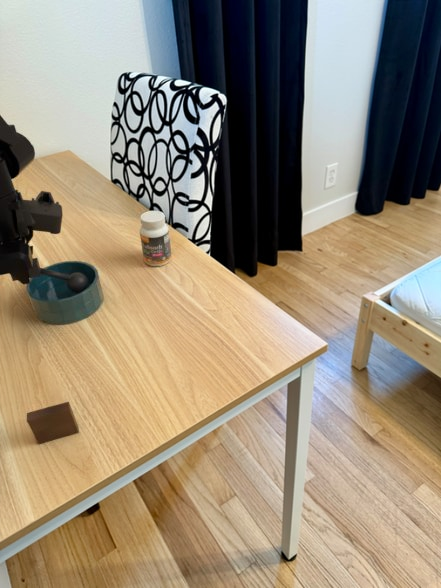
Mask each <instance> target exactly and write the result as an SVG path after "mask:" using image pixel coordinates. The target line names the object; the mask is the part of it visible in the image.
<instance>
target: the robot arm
mask: <svg viewBox="0 0 441 588" xmlns="http://www.w3.org/2000/svg"><path fill="white" fill-rule="evenodd" d="M35 152H36V151H35V147H34V144H32V142H31V141H30V140H29V138H28V137H26V136H25V135H24V134H22V133H20V132H18V131H17V128H16V126H15V124H8V123H7V122H6V120H5V119H4V118H3V116H2V115H1V114H0V276H4V275H10V274H11V275H12V276H13V277H14V278H16V279H17V281H18V282H19V283H20V284H22V285H27V284H29V283H30V280H29V279H30V278H29V272H28V270H29V269H30V268H32V266H33V255H34V245H30V244H29V243H30V242H31V240H32V239H33V237H34V231H35V232H44V233H50V234H52V235H59V234H60V233H61V230H62V222H63V206H62V205H61V204H60V202H59V201H55V199H54V197H53V195H52V192H51V191H45V190H41V191H40V192H39V193H38V195H37V196H36V197H31V199H24V198H23V196H22V193H21V192H20V191H19V190H18V189H15V186H14V182H13V180H14V179H16V178H17V177H18V176H19V175H20V174H21V173H23V172H24V171H25V169H27V168H28V167H29V166H30V165H31V164H32V163H33V162H34V160H35V158H36V153H35ZM11 275H10V276H11Z"/></svg>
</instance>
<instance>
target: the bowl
mask: <svg viewBox="0 0 441 588" xmlns="http://www.w3.org/2000/svg"><path fill="white" fill-rule="evenodd" d="M42 268H43V269H47V270H51V271H55V272H59V273H63V274H67V275H71V274H73V273H77V272H78V273H82V274H84V275H85V276H86V277H87V280H88V286H87V288H86V289H85V290H84V291H83V292H80V293H74V292H72V291H70V290H69V288H68V287H67V280H63V279H59V278H55V277H51V276H47V275H43V274H41V276H39V277H34V278H29V280H30V283H29V284H26V289H25V292H26V293H27V296H28V299H29V302H30V304H31V307H32V310H33V312H34V313H35V315H36V317H37V318H38V319H39V320H40V321H42V322H44V323H47V324H49V325H69V324H73V323H77V322H80V321H82V320H85V319H87V318H89V317H91V316H92V315H94V314H95V313H96V312H97V311H98V310H99V309H100V308H101V306H102V305H103V302H104V290H103V287H102V283H101V279H100V274H99V271H98V269H97V268H96V267H95V266H94V265H93V264H92V263H89V262H86V261H82V260H81V261H80V260H66V261H60V262H56V263H53V264H50V265H47V266H45V267H42Z"/></svg>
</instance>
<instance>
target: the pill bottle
mask: <svg viewBox="0 0 441 588" xmlns="http://www.w3.org/2000/svg"><path fill="white" fill-rule="evenodd" d="M139 220H140V224H141V225H140V227H139V236H140V243H141V251H142V258H143V261H144V263H145V264H146V265H148V266H151V267H161V266H165V265H167V264H169V262H170V261H171V260H172V247H171V246H172V245H171V237H170V229H169V226H168V224H166V216H165V213H164V212H162V211H160V210H149V211H146V212H143V213H142V214H141V215H140V218H139Z"/></svg>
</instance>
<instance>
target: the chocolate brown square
mask: <svg viewBox="0 0 441 588" xmlns="http://www.w3.org/2000/svg"><path fill="white" fill-rule="evenodd" d="M26 422H27V424H28V426H29V428H30V430H31V432H32V434H33V436H34V438H35V440H36V442H37V444H38V445H41V444H44V443H48V442H51V441H55V440H59V439H62V438H65V437H69V436H71V435H76V434H78V433H80V432H79V431H80V430H79V424H78V421H77V419H76V417H75V414H74V411H73V409H72V406H71V403H70V401H66V402H63V403H58V404H55V405H51V406H48V407H44V408H40V409H36V410H32V411H29V412H27V413H26Z"/></svg>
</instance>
